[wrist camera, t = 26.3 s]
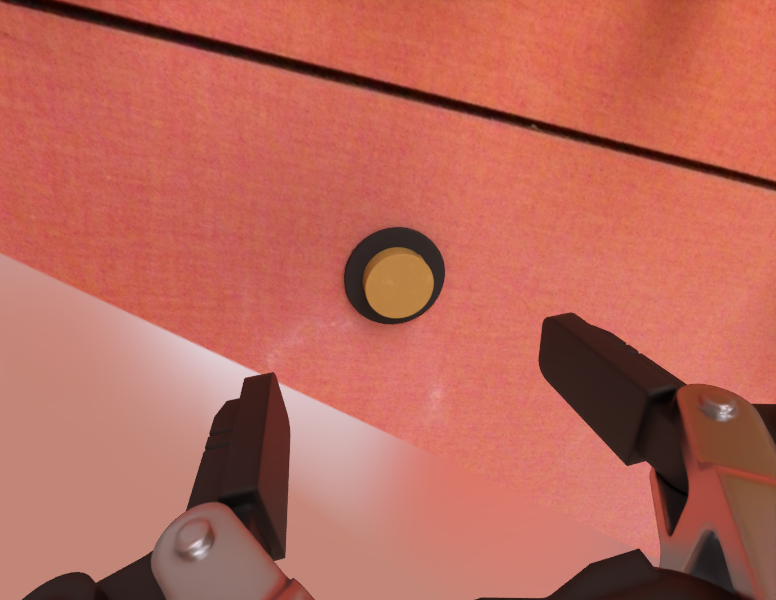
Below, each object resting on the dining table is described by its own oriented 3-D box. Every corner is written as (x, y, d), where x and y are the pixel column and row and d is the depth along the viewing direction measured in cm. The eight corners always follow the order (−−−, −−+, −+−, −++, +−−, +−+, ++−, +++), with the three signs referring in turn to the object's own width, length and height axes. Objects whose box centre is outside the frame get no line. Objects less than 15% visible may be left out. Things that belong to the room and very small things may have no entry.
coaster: (395, 338, 35) (396, 341, 35) (322, 283, 32) (322, 286, 31) (462, 271, 34) (464, 273, 33) (394, 204, 30) (395, 206, 29)
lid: (395, 232, 30) (401, 238, 29) (440, 274, 33) (448, 282, 31) (348, 283, 31) (350, 292, 30) (395, 320, 34) (400, 330, 32)
